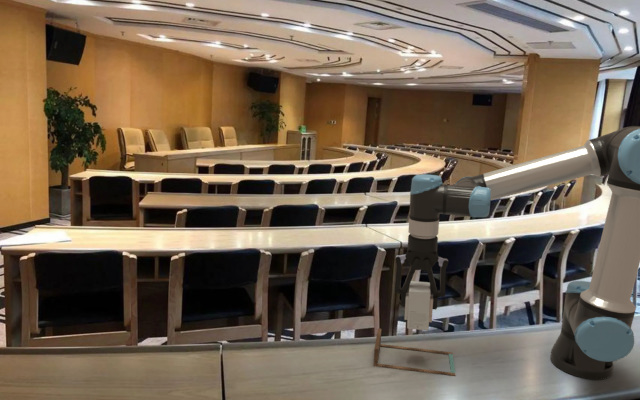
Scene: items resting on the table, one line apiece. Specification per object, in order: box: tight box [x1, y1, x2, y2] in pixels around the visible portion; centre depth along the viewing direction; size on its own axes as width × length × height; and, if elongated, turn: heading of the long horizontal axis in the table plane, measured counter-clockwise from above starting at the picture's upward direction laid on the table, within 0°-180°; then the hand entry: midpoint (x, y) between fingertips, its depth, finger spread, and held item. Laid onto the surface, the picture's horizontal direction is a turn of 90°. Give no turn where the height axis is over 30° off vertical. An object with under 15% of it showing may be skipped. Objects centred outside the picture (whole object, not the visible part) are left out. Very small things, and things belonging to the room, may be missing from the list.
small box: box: [406, 280, 432, 331], centre depth 133 cm, size 8×6×10 cm
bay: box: [373, 328, 456, 377], centre depth 136 cm, size 21×12×5 cm, turn 79°
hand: (418, 318), depth 134 cm, fingers closed on small box, 6 cm apart
